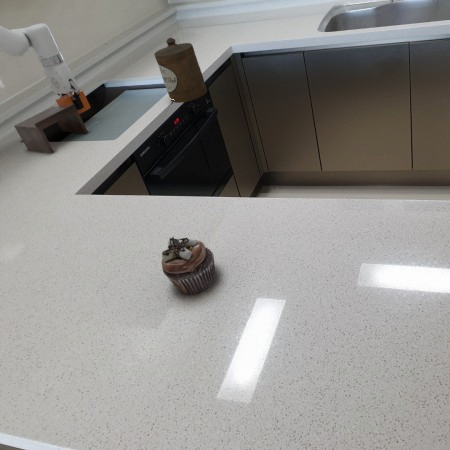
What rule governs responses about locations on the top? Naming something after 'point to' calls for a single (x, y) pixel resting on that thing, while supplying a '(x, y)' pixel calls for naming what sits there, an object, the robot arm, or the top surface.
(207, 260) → the cupcake
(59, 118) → the shelf
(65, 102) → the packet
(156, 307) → the top surface
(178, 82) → the wooden container
